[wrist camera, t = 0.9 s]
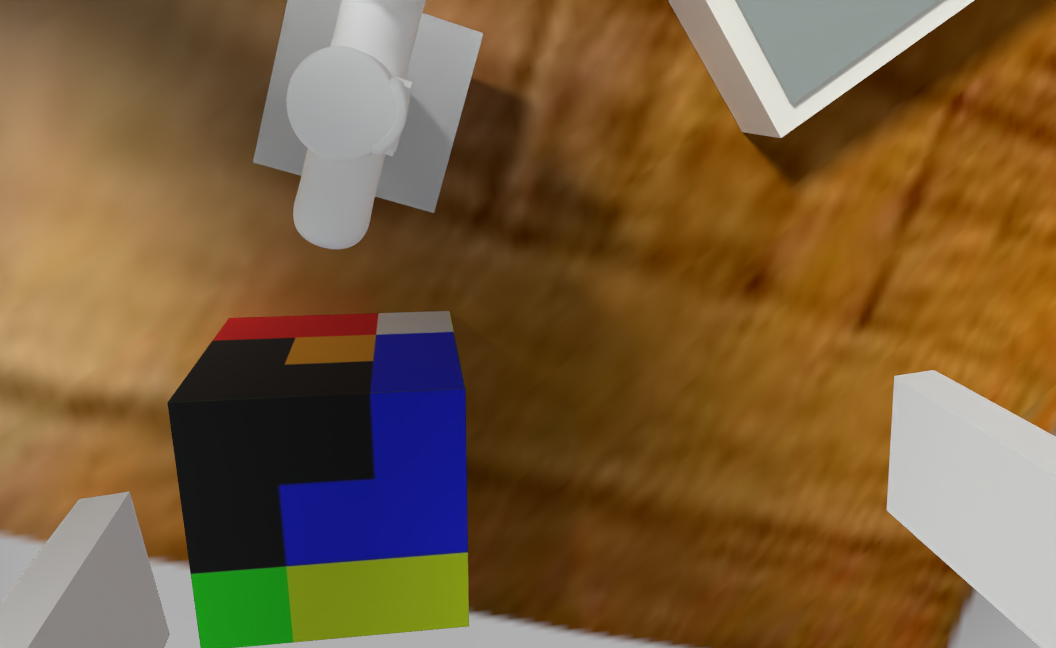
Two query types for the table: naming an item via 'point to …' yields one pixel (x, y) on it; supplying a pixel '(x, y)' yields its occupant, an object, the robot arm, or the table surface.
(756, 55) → the plinth
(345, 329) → the puzzle toy
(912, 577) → the table surface
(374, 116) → the figurine
